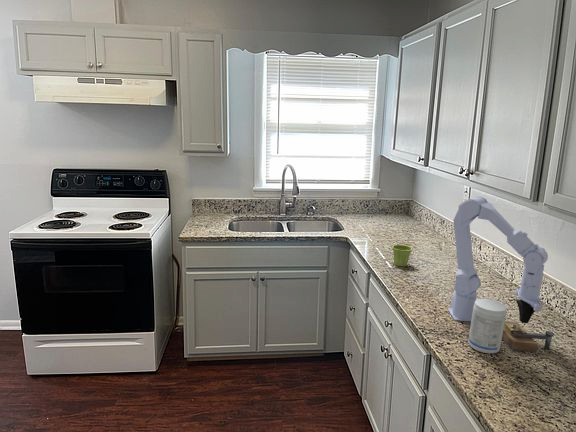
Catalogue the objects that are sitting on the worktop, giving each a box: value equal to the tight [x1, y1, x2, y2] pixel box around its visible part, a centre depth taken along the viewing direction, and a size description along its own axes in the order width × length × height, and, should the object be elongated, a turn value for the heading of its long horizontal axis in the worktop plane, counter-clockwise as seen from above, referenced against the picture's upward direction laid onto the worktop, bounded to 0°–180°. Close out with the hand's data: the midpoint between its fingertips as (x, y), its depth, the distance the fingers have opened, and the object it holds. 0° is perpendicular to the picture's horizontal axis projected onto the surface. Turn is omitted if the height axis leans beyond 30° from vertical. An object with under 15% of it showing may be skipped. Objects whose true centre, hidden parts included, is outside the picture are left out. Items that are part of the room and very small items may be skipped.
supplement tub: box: [467, 298, 508, 354], centre depth 143 cm, size 10×10×15 cm
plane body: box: [502, 320, 538, 353], centre depth 150 cm, size 15×8×3 cm, turn 176°
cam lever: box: [513, 330, 555, 351], centre depth 146 cm, size 2×12×6 cm, turn 86°
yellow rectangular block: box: [504, 323, 523, 335], centre depth 149 cm, size 5×4×2 cm
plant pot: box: [391, 244, 413, 267], centre depth 219 cm, size 9×9×9 cm
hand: (523, 322), depth 152 cm, fingers closed
